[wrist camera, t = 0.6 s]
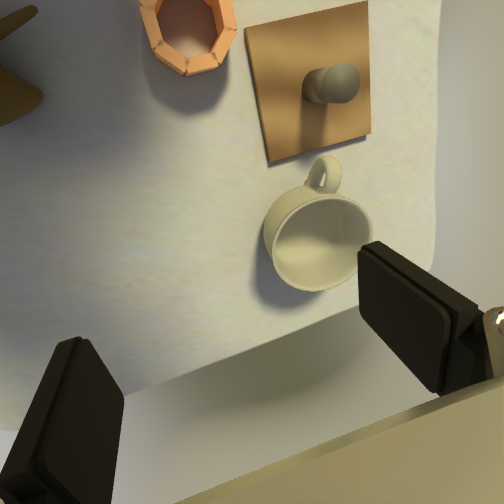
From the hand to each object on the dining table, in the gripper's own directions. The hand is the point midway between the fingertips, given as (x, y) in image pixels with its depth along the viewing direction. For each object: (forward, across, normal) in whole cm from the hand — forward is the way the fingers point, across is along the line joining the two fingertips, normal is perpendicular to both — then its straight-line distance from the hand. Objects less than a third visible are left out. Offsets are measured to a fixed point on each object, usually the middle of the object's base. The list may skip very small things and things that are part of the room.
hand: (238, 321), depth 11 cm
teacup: (+25, -12, +8) cm, 29 cm away
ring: (+25, -4, -12) cm, 28 cm away
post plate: (+25, -15, -5) cm, 29 cm away
